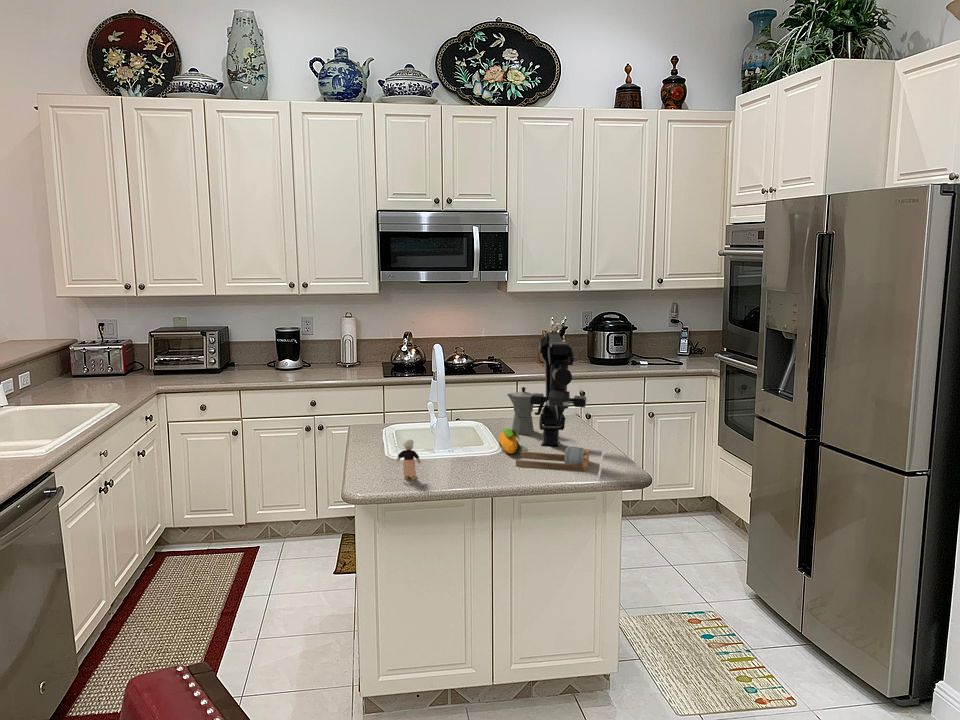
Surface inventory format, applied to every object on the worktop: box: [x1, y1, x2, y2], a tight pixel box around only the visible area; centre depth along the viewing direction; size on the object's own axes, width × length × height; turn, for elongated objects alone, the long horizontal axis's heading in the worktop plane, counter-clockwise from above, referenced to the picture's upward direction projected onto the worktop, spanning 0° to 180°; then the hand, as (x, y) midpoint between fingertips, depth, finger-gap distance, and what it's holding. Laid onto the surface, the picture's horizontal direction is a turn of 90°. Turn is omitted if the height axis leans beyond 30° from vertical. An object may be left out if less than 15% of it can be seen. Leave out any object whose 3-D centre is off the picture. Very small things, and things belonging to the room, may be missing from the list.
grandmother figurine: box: [396, 438, 421, 481], centre depth 224 cm, size 8×4×13 cm, turn 92°
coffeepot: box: [507, 386, 546, 436], centre depth 281 cm, size 15×9×18 cm, turn 70°
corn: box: [498, 428, 521, 455], centre depth 254 cm, size 7×8×20 cm
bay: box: [515, 448, 590, 472], centre depth 239 cm, size 11×23×5 cm, turn 78°
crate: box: [564, 446, 586, 465], centre depth 237 cm, size 6×6×5 cm
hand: (557, 424), depth 246 cm, fingers closed
